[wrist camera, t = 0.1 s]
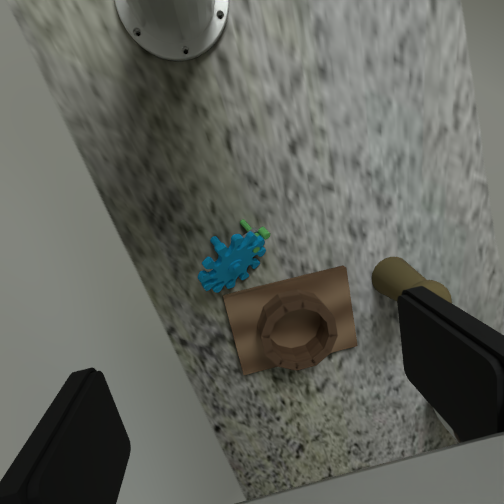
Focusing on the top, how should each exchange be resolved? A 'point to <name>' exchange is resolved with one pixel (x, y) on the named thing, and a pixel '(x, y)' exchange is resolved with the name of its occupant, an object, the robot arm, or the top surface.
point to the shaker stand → (292, 321)
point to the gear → (233, 258)
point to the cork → (402, 279)
